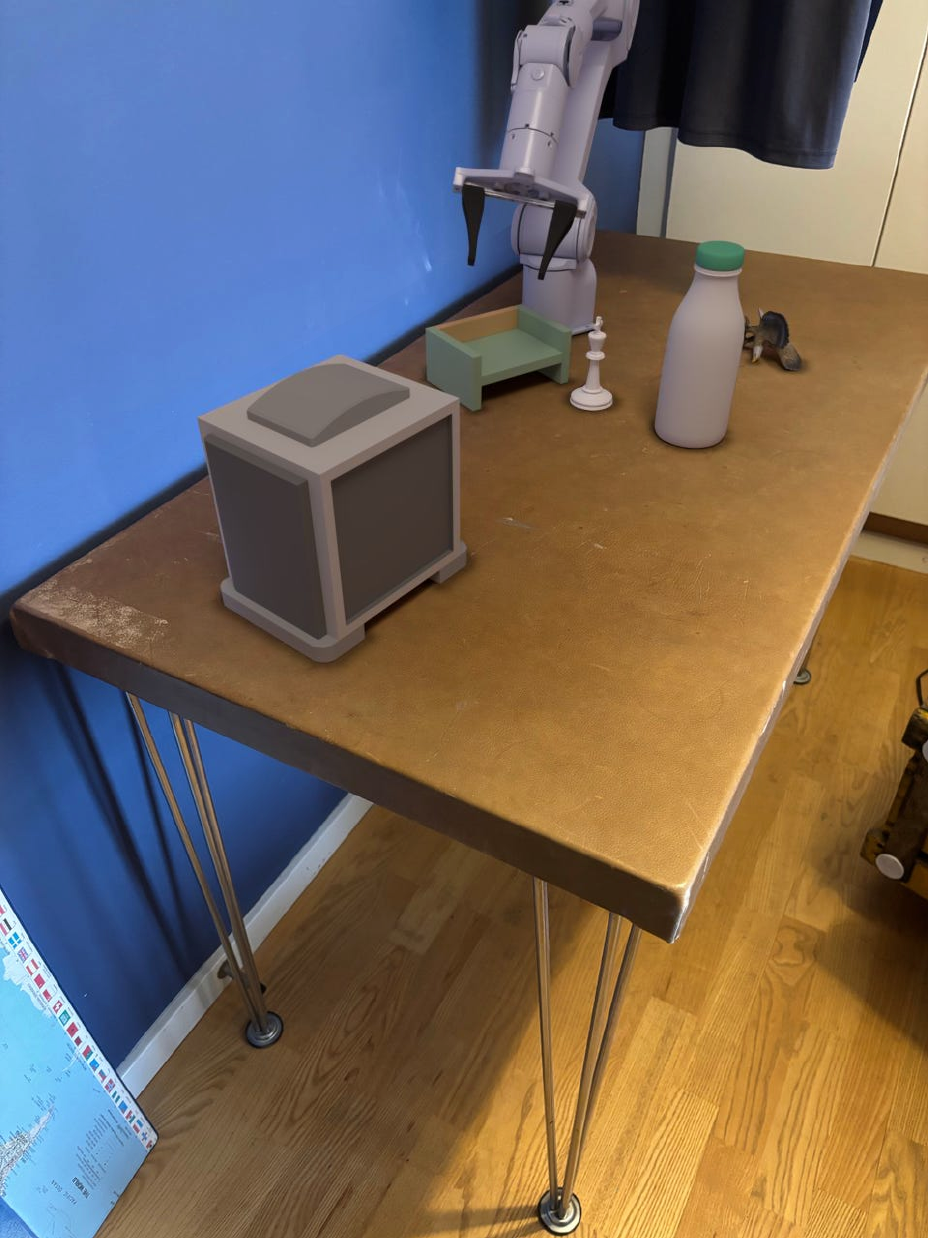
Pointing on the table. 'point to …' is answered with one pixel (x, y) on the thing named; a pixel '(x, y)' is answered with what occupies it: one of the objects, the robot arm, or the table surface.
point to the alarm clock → (334, 499)
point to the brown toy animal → (772, 338)
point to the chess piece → (593, 376)
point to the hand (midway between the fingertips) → (506, 269)
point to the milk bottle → (703, 351)
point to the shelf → (495, 351)
